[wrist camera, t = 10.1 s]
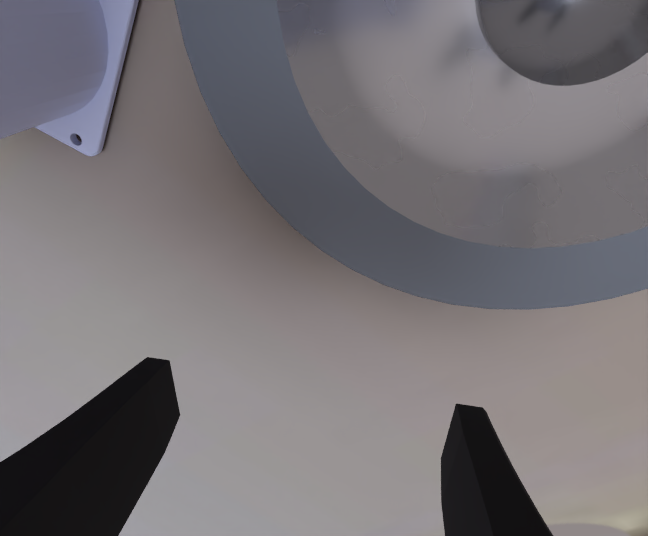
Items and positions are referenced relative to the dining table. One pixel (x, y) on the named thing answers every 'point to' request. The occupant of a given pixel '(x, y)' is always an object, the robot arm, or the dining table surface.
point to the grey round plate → (357, 202)
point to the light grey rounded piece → (484, 111)
